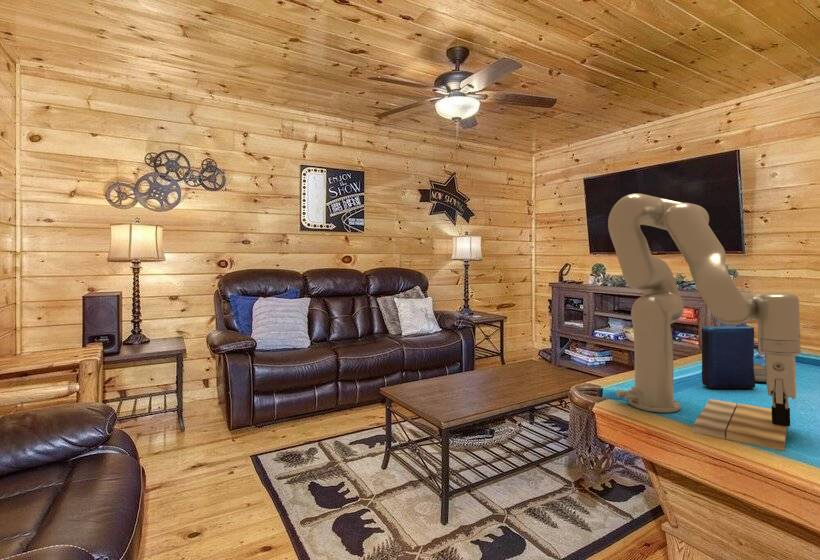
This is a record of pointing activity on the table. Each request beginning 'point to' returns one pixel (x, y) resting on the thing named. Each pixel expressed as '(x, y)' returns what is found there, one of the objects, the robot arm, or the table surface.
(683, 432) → the table surface
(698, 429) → the ash board
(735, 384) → the book
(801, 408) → the table surface
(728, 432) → the oak plank
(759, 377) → the flying saucer
